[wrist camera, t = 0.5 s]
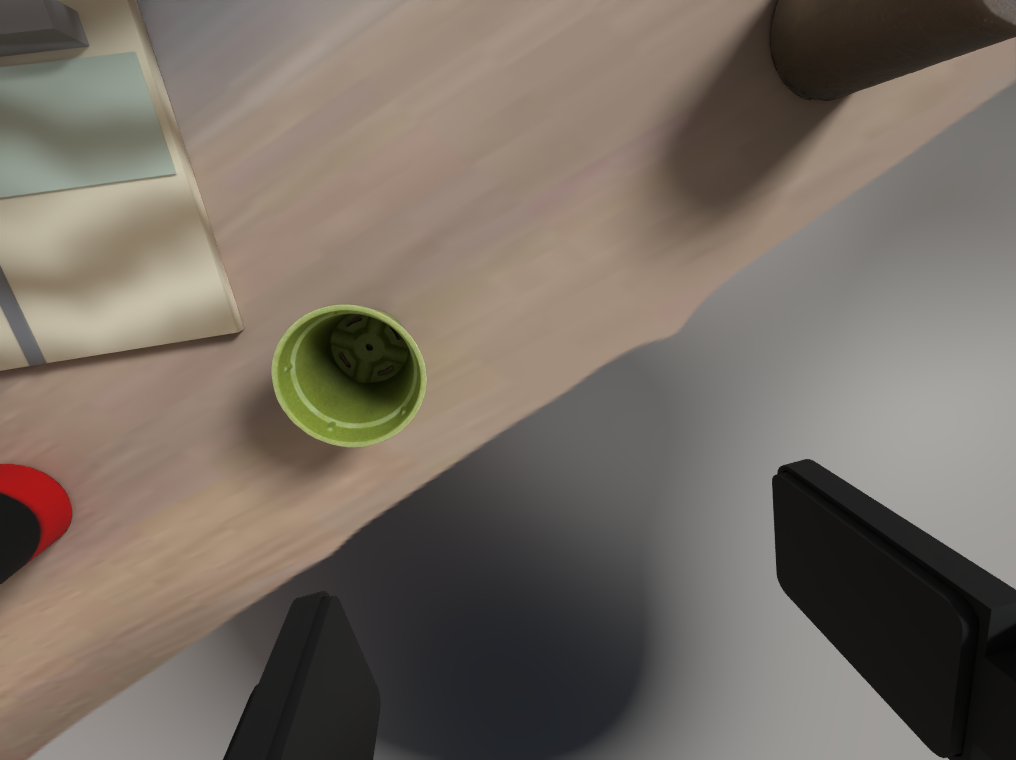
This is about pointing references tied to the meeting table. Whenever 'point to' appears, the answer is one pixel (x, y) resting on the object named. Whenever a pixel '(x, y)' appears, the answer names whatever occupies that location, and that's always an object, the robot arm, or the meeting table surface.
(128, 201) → the lock board
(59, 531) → the soda can
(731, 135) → the meeting table surface
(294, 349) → the plant pot
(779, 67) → the pillar candle
